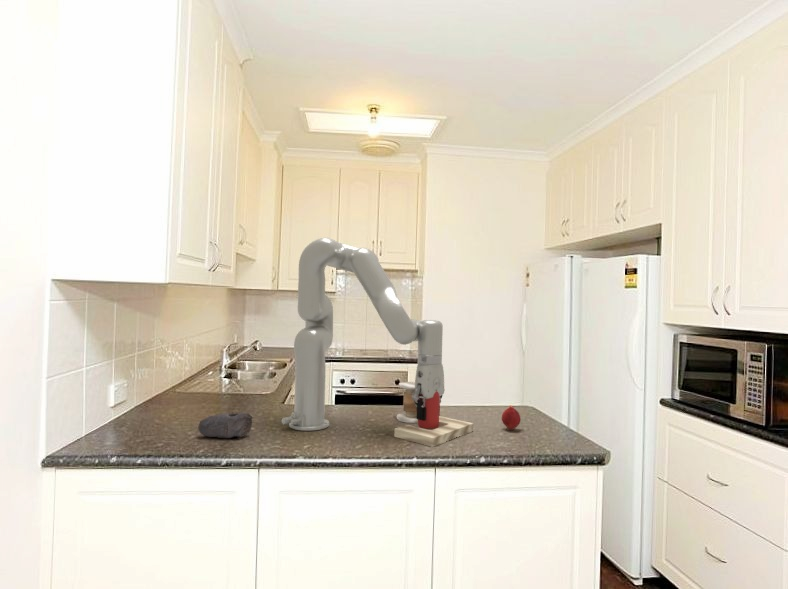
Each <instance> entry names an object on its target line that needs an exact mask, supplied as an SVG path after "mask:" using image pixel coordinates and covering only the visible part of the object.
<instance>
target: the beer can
mask: <svg viewBox="0 0 788 589" xmlns="http://www.w3.org/2000/svg"><path fill="white" fill-rule="evenodd" d="M420 396H423V394H421V395H420ZM421 401H423V399H421ZM439 406H440V407H441V403H440V395H439V393H438V392H437V390H436V392H435V393H434V395H433V398H431V399H427V401H426V404H425V407H426V420H425V421H423V420H418V423H417V426H418V427H419V428H423V429H427V430H433V429H436V428H438V427H439Z"/></svg>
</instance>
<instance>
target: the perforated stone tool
mask: <svg viewBox="0 0 788 589" xmlns="http://www.w3.org/2000/svg"><path fill="white" fill-rule="evenodd" d="M252 418H253V416H252V415H251V414H250V413H243V412H242V413H241V412H240V413H239V412H237V413H233V412H232V413H231V412H230V413H220V414H219V413H218V414H213V415H209V416H207V417H204V418H203V419H201V420H200V421H199V423H198V428H197V430H198V432H199V433H200V434H201V435H203V436H205V437H208V438H214V437H215V438H217V439H231V438H234V437H236V438H238V439H239V438H243V436H246V435H248V434H249V432H250V431H251V429H252V427H253V426H252V424H253V421H252V420H253V419H252Z"/></svg>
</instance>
